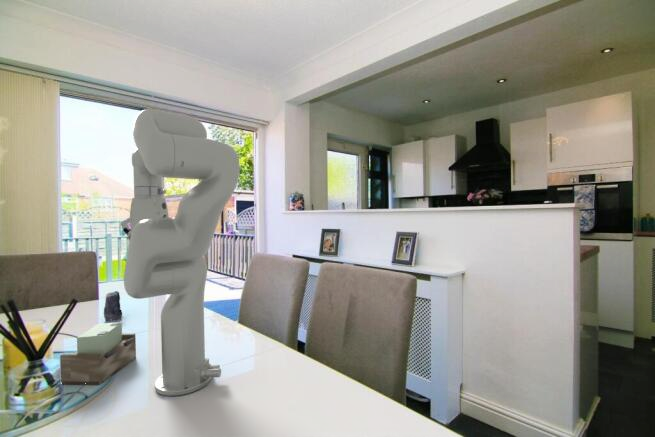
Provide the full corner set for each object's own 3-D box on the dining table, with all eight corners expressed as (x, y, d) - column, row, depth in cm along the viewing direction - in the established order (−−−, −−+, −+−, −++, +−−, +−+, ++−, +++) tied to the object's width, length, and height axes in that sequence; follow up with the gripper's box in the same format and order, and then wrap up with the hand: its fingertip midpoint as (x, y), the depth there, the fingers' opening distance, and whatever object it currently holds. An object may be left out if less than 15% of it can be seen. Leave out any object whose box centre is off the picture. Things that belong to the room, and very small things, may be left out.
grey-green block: (104, 355, 80) (104, 334, 80) (77, 357, 79) (76, 336, 79) (122, 339, 90) (121, 321, 90) (98, 341, 89) (97, 323, 88)
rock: (121, 320, 125) (120, 293, 125) (104, 323, 122) (103, 296, 122) (122, 313, 134) (121, 289, 134) (106, 316, 131) (105, 290, 131)
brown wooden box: (103, 358, 92) (102, 333, 92) (139, 358, 91) (139, 333, 91) (60, 384, 78) (60, 355, 78) (103, 384, 77) (102, 355, 77)
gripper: (182, 193, 101) (183, 247, 102) (128, 194, 102) (130, 248, 102) (169, 192, 94) (171, 250, 94) (112, 193, 95) (113, 251, 95)
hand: (149, 249), depth 98 cm, fingers open, 9 cm apart
